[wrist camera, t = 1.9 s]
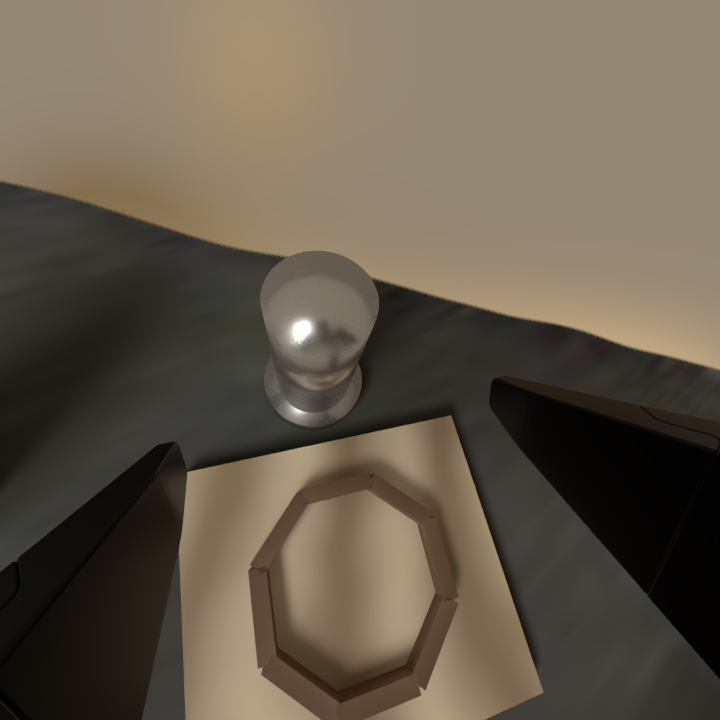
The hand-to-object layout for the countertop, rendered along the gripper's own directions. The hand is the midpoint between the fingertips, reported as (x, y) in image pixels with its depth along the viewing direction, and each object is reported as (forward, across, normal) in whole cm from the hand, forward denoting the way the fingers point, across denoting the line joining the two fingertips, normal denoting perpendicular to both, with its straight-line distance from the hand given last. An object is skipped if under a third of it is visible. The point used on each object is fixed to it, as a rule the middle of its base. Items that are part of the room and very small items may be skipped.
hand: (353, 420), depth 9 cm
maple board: (+4, 0, +12) cm, 13 cm away
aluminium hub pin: (+12, 0, +5) cm, 13 cm away
